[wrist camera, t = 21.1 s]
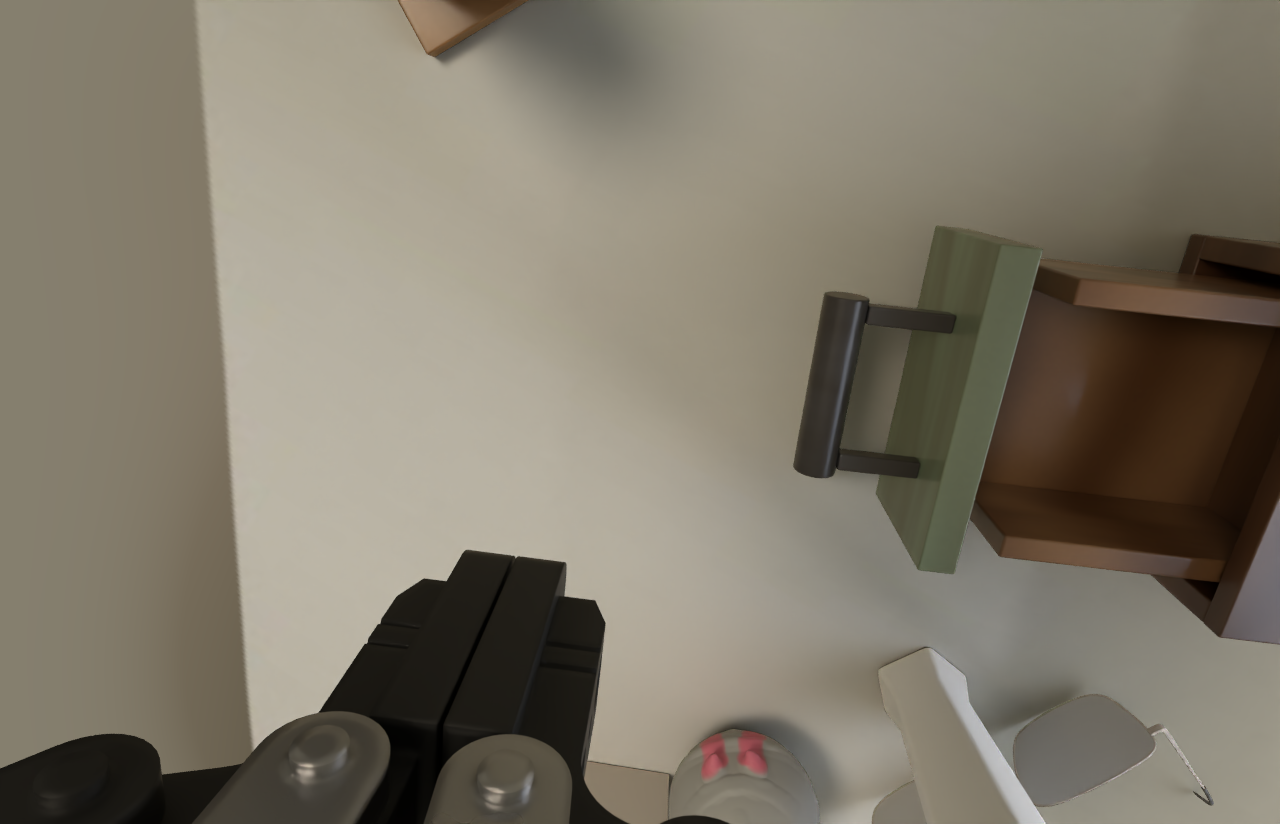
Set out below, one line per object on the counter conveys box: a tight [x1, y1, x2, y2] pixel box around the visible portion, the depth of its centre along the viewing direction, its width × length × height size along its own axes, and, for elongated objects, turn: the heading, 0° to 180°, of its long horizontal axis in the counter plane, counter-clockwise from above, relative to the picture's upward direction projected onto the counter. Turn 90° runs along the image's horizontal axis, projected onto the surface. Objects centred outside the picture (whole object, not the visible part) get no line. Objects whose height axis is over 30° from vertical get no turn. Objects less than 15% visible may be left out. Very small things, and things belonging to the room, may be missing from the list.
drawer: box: [793, 226, 1280, 583], centre depth 25 cm, size 17×10×6 cm, turn 84°
